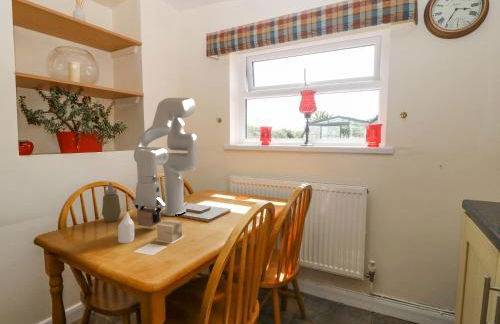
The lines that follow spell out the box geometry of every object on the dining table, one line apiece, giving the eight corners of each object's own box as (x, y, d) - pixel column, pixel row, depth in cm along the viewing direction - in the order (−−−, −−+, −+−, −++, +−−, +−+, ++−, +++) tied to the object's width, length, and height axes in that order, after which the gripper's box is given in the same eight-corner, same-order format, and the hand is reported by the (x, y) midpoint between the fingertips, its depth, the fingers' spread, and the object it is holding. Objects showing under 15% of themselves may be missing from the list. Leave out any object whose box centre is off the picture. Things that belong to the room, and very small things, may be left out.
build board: (163, 234, 115) (163, 231, 115) (193, 239, 111) (193, 235, 110) (123, 255, 95) (122, 252, 95) (157, 262, 90) (157, 258, 90)
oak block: (168, 234, 112) (167, 219, 111) (182, 236, 110) (181, 221, 109) (157, 240, 106) (157, 224, 105) (172, 242, 103) (171, 226, 103)
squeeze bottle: (102, 218, 136) (101, 182, 134) (121, 217, 139) (120, 181, 137) (101, 223, 128) (99, 184, 127) (120, 221, 131) (119, 183, 130)
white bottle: (116, 211, 105) (132, 209, 108) (117, 242, 106) (133, 239, 109) (118, 215, 100) (135, 213, 103) (119, 247, 101) (136, 244, 104)
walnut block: (148, 219, 122) (147, 206, 121) (160, 221, 120) (160, 208, 119) (137, 225, 116) (137, 211, 115) (150, 227, 114) (149, 212, 113)
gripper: (170, 179, 116) (172, 220, 118) (137, 176, 121) (139, 215, 124) (159, 183, 109) (160, 227, 111) (123, 179, 114) (126, 221, 117)
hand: (149, 220), depth 117 cm, fingers closed on walnut block, 6 cm apart
